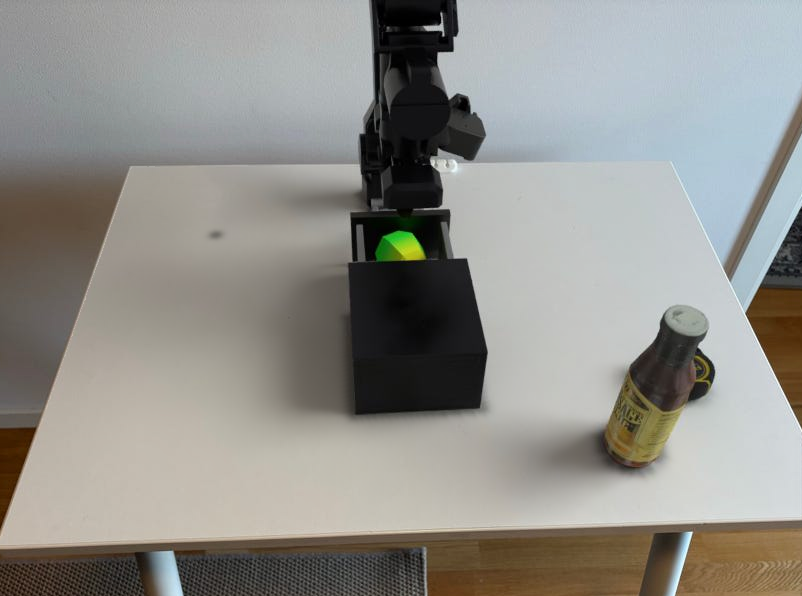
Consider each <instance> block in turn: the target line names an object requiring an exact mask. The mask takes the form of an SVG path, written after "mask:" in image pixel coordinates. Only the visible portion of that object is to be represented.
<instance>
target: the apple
mask: <svg viewBox="0 0 802 596" xmlns="http://www.w3.org/2000/svg"><path fill="white" fill-rule="evenodd" d="M375 255H376V258H377V261H403V260H428V259H426V256H425V253H424V251H423V248H422V246H421V245H420V244H419V242H418V241H417V239H416V238H415V237H414V235H413V234H412V233H409V232H403V231H396V232H393V233H391V234H388V235H385V236H383V237H382V239H381V241H380V243H379V245H378V247H377V250H376V252H375Z"/></svg>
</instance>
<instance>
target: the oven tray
mask: <svg viewBox="0 0 802 596" xmlns="http://www.w3.org/2000/svg"><path fill="white" fill-rule="evenodd" d="M371 206H372V211H371V210H370V211H350V212H349V217H350V218H349V219H350V221H349V222H350V239H351V240H350V241H351V262H376V261H377V258H376V255H375V252H376V250H377V247H378V245H379V243H380V241H381V239H382V237H383V236H385V235H388V234H391V233H393V232H396V231H403V232H409V233H412V234H413V235H414V237H415V238H416V239H417V241H418V242H419V244H420V245H421V246H422V248H423V251H424V253H425V256H426V259H427V260H430V259H455V257H454V252H453V251H454V250H453V246H452V243H451V236H450V229H451V216H452V214H451V209H450V208H433V209H413V211H412V214H411V217H410V218H409V219H401V218H400V216H399V214H398V212H397V211H391V210H389V209H387V208H385V207H383V199H371ZM393 210H396V209H393Z"/></svg>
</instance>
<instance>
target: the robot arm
mask: <svg viewBox="0 0 802 596" xmlns="http://www.w3.org/2000/svg"><path fill="white" fill-rule="evenodd" d="M457 1H458V0H368V8H369V20H370V21H369V22H370V33H371V35H370V36H371V61H372V62H371V65H372V66H371V67H372V92H373V94H372V95H373V99H372V101H371V103H370V104H369V106H368V109H367V110H366V112H365V114H364V115H363V117H362V127H363V128H362V129H363V132H362V133H358V141H357V153H358V164H359V172H360V176H361V197H362V200H363V202H364V204H365V205H366V207H368V208H369V210H370V212H371V211H372V206H371V199H383V207H385V208H387V209H389V210H391V211H397V212H398V214H399V216H400V218H401V219H409V218H410V217H411V214H412V211H413V209H423V210H426V209H440V207H441V206H443V201H444V200H443V199H444V187H443V183H442V177H441V173H440V171H439V170H438V169H437V168H436V167H435V166H433V165H432V161H431V158H432V157H438V156H439V153H438V152H439V150H440V151H442V152H445V153H448V154H450V155H451V154H452V155H454V156H457V157H461V158H463V160H465V161H468V162H473V161H474V160H475V159H476V157H477V155H478V153H479V151H480V149H481V147H482V145H483V143H484V141H485V139H486V137H487V132H486V130H485V126H484V124H483V120H482V119H481V118H480V117H479V116H478V113H477V112H476V111H473V112H472V107H471V106H472V105H471V102H470V98H469V96H467V95H465V94H462V93H459V92H457V93H455V94H454V95H453V96H451V98H449V95H448V93H447V89H446V86H445V82H444V79H443V76H442V73H441V70H440V68H439V61H438V60H439V59H438V57H439V53H454V50H455V39H454V38H457V37H458V35H459V32H460V30H459V29H460V27H459V15H458V13H459V12H458V2H457ZM441 25H442V27H443V31H442V30H427V29H426V28H425V27H440V26H441ZM393 209H396V210H393Z"/></svg>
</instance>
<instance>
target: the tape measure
mask: <svg viewBox="0 0 802 596" xmlns="http://www.w3.org/2000/svg"><path fill="white" fill-rule="evenodd" d="M693 359H694V365H695V368H696V379H695V383H694V386H693V388H692V390H691V391H690V394H689V396H688V400H687V402H692V401H696V400H699V399H701V398H703V397H705V396H706V395H707V394H708V393H709V391H710V389H711V387H712V386H713V383H714V380H715V377H716V367H715V365H714V363H713V361H712V359H710V358H709V357H708V356H707V355H706V354H704V352H703V351H702V349H701V348H700V347H699V346H698V347H697V349H696V351H695V356H694V358H693Z"/></svg>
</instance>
